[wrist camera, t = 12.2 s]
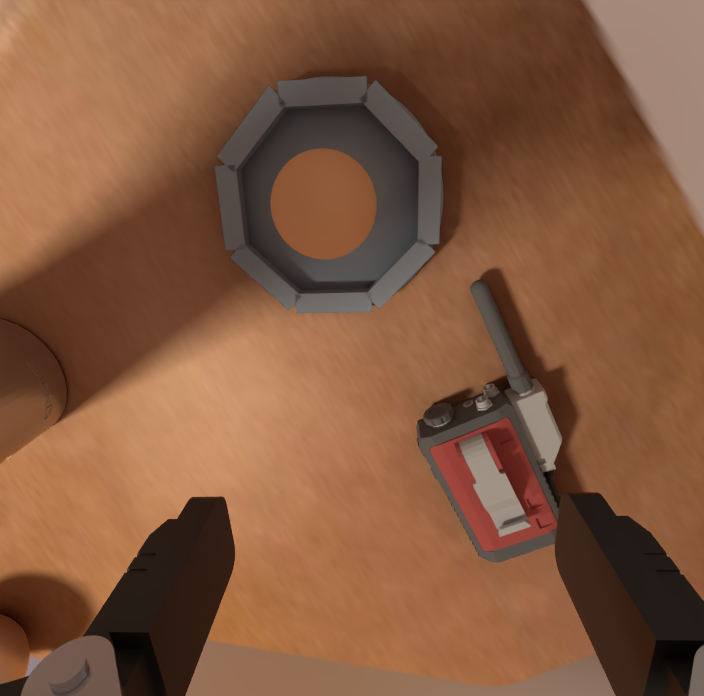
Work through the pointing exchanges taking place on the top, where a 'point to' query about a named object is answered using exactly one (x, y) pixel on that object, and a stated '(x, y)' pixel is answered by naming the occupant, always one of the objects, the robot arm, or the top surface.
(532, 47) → the top surface
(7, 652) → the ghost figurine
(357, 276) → the dish
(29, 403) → the robot arm
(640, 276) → the top surface
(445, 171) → the top surface
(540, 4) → the top surface
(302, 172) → the ball
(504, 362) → the walkie-talkie
